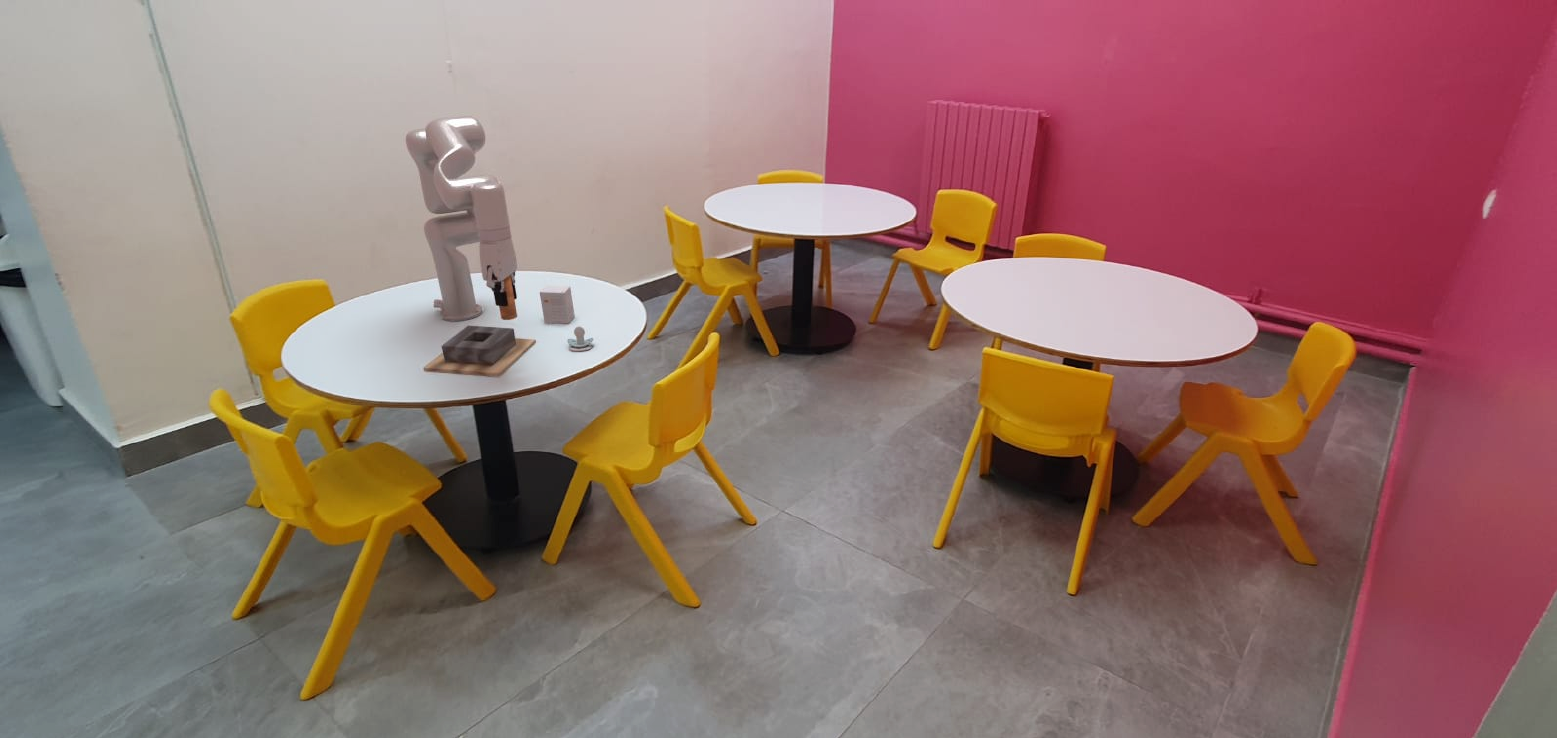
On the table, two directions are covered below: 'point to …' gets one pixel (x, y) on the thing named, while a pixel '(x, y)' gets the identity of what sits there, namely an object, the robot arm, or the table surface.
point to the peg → (510, 310)
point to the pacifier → (579, 340)
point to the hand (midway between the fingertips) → (506, 301)
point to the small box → (557, 304)
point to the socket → (480, 351)
